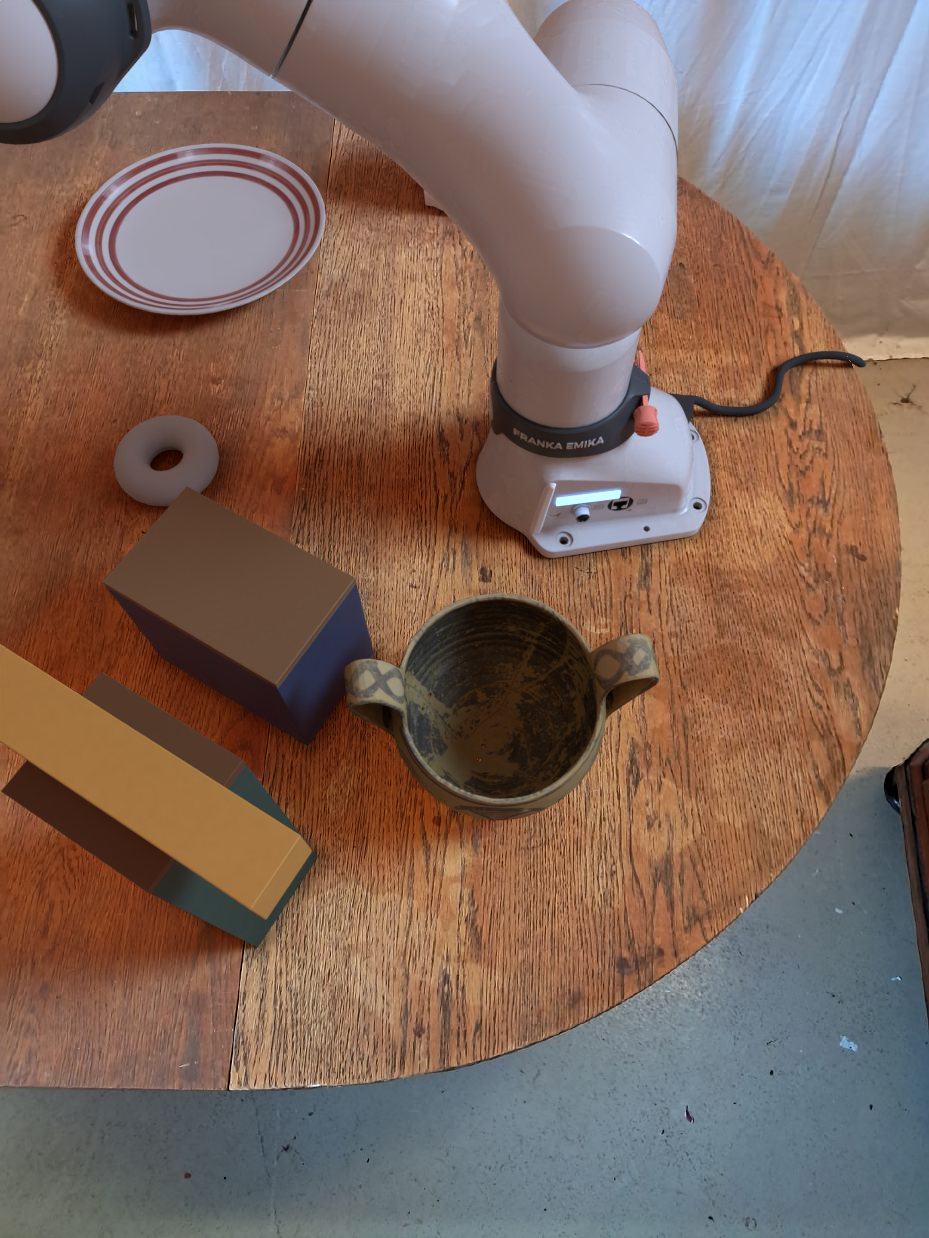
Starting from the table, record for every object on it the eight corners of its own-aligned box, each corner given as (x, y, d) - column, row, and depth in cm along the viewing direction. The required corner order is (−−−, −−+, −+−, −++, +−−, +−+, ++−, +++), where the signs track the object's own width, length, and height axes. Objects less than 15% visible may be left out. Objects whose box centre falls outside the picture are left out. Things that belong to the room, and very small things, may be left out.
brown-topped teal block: (156, 878, 71) (0, 790, 47) (219, 793, 74) (101, 671, 50) (257, 947, 68) (146, 891, 45) (318, 856, 71) (243, 759, 48)
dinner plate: (113, 160, 108) (103, 135, 105) (340, 164, 107) (336, 139, 104) (59, 333, 96) (46, 310, 93) (314, 339, 95) (309, 316, 92)
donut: (106, 505, 86) (204, 521, 85) (91, 484, 83) (193, 500, 82) (142, 423, 91) (236, 437, 89) (130, 400, 88) (227, 415, 86)
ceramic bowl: (611, 637, 80) (640, 551, 66) (645, 827, 72) (684, 775, 59) (361, 658, 79) (337, 575, 65) (368, 852, 71) (344, 804, 58)
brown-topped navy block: (160, 657, 79) (101, 582, 66) (230, 572, 83) (186, 485, 70) (308, 746, 75) (275, 685, 63) (374, 653, 79) (355, 577, 66)
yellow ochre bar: (-105, 671, 50) (-144, 645, 47) (-53, 616, 52) (-87, 588, 49) (266, 920, 44) (250, 910, 41) (312, 850, 46) (301, 835, 43)
